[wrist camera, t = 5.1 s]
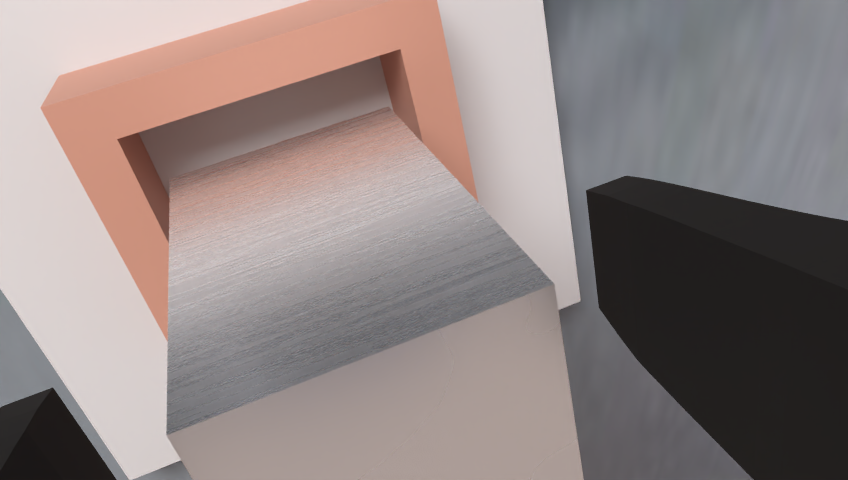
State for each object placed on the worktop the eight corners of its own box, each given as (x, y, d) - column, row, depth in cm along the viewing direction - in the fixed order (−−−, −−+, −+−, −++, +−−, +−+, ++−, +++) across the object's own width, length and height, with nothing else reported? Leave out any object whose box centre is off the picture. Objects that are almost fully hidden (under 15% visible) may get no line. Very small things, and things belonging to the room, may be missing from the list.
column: (437, 292, 13) (591, 537, 8) (255, 362, 13) (307, 669, 8) (388, 105, 11) (555, 283, 6) (169, 178, 11) (165, 436, 6)
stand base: (562, 282, 19) (636, 359, 16) (132, 450, 17) (123, 574, 14) (490, -230, 13) (587, -262, 10) (-196, -55, 11) (-337, -27, 8)
